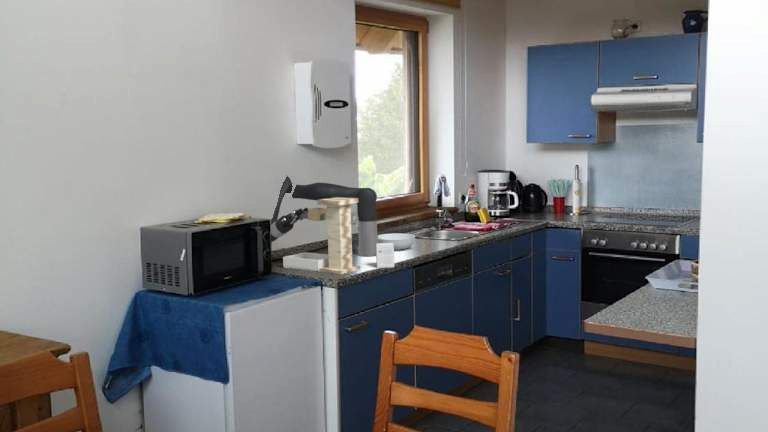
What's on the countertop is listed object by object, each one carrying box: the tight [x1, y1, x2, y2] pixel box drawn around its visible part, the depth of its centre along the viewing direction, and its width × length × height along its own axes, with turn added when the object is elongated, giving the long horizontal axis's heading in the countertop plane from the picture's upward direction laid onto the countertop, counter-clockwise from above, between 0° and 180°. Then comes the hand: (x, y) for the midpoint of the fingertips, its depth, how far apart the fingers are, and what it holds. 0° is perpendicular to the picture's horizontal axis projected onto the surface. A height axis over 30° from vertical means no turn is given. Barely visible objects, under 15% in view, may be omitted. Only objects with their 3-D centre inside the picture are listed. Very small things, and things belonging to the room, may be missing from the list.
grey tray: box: [282, 251, 329, 273], centre depth 361 cm, size 15×21×5 cm
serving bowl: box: [377, 232, 416, 252], centre depth 408 cm, size 21×21×7 cm
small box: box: [375, 243, 395, 269], centre depth 358 cm, size 8×6×10 cm
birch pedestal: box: [316, 197, 361, 275], centre depth 349 cm, size 14×12×32 cm
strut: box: [293, 207, 327, 222], centre depth 358 cm, size 6×16×5 cm, turn 54°
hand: (304, 209), depth 359 cm, fingers open, 3 cm apart
